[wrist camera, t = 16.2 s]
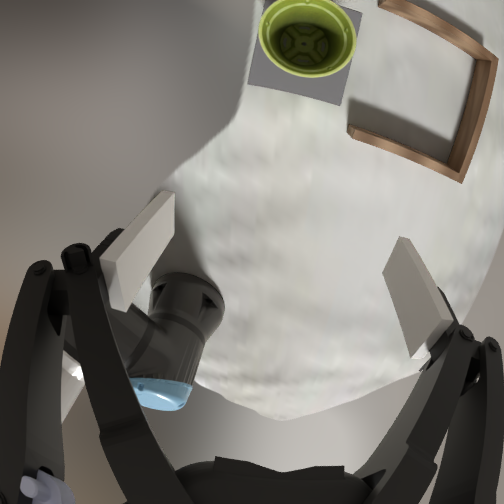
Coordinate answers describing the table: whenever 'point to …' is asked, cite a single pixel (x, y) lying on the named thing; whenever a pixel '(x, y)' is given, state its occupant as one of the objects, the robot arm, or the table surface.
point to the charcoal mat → (316, 88)
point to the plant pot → (307, 36)
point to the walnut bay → (476, 101)
